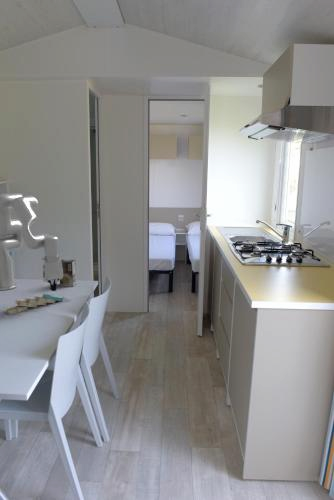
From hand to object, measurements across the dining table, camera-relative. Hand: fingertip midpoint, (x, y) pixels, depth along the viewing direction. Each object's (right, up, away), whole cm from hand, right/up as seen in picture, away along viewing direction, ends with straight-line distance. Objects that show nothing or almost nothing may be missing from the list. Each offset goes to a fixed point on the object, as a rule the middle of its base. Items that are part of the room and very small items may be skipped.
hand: (53, 290), depth 211 cm
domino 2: (-8, -7, -6) cm, 13 cm away
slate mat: (-4, -8, -2) cm, 9 cm away
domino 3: (-5, -7, -3) cm, 8 cm away
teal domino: (+3, -5, +4) cm, 7 cm away
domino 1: (-12, -8, -9) cm, 17 cm away
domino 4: (-1, -6, +1) cm, 6 cm away
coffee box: (0, 0, +33) cm, 33 cm away
